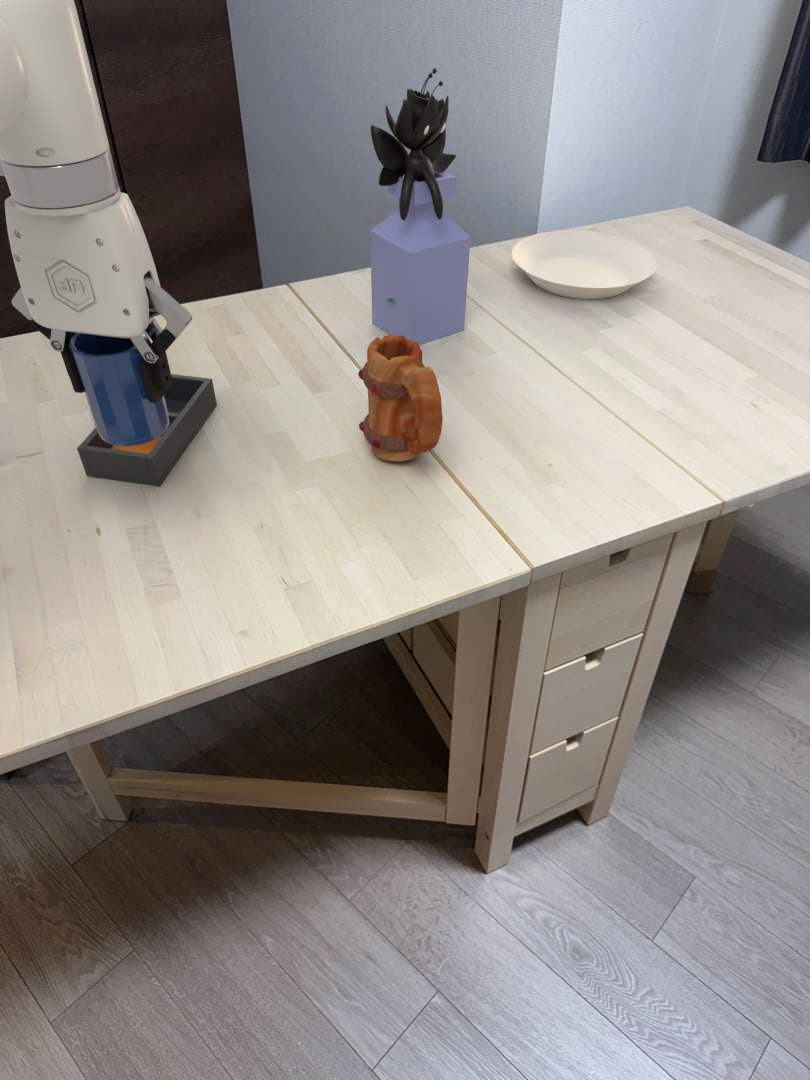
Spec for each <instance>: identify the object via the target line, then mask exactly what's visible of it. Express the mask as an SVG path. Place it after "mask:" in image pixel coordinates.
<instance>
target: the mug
mask: <svg viewBox="0 0 810 1080" xmlns="http://www.w3.org/2000/svg"><path fill="white" fill-rule="evenodd" d="M366 359H367V360H366V362H365V364H364V365H363V367H362V369H360V370H358V372H357V376H358V377H359V379H360V380H362V382H363V385H364V386H365V388H366V389H367V402H368V403H367V404H368V405H367V406H368V414H367V415H366V416H365V417H364V419H363V421H361V422H359V423H358V429H359V430H360V431H361V432H362V433H363V436H364V439H365V440H366V442H367V443H369V445H370V447H371V451H372V453H373V454H374V455H375V456H376V457H377V458H379V459H380V460H382V461H388V462H405V461H410V460H413V459H415V458H417V457H419V456H420V455H421V454H422V453H426V452H429V451H432V450H433V449H434V448H436V446H437V445H438V444H439V441H440V438H441V434H442V431H443V430H442V428H443V409H442V408H443V407H442V405H443V404H442V396H441V391H440V387H439V383H438V379H437V376H436V374H435V371H434V370H433V369H432V368H431V367H430V366H428V365H427V366H425V364H424V363H423V350H422V348H421V345H419V344H418V343H417V342H415V341H413V340H407V339H406V338H405V336H399V335H389V334H386V335H383V337H382V339H381V338H379V337H375V338H374V339H373V340H371V342H370V343H369V344H368V347H367V349H366Z"/></svg>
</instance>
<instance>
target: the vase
mask: <svg viewBox="0 0 810 1080" xmlns="http://www.w3.org/2000/svg"><path fill="white" fill-rule="evenodd" d="M437 72H438V70H437V68H432V72H429V73H428V74H427V77H426V79H425V80H424V83H423V85H422V87H421V91H418V90H417V89H413V88H406V99H403V100H402V105H401V108H400V110H399V113H398V116H397V119H396V121H395V120H394V117H393V116H392V114H391V112H390V108H389V107H388V105H385V109H384V112H385V118H386V121H387V124H388V127H389V130H390V131H391V133H392V134H391V133H390V132H388V131H386V130H385V129H383V128H381V127H378V126H375V125H374V124H371V125H370V136H371V141H372V145H373V149H374V151H375V154H376V157H377V160H378V161H379V162H380V164H381V165H382V166H383V167H382V168H381V170H380V173H379V176H378V177H379V178H378V185H379V186H380V187H387V193H388V194H391V195H393V196H395V197H397V198H398V209H397V210H396V211H394V212H393V213H392V214H390V215H389V216H388V217H386V218H385V219H383V220H382V221H381V222H380V223H379V224H378V223H377V225H376V226H374V227H373V228H372V229H370V230H369V231H370V233H369V234H370V237H369V239H370V282H371V286H370V287H371V289H370V290H371V323H372V324H373V325H375V326H376V327H378V328H379V329H381V330H382V331H383V332H384V333H386V334H387V335H399V336H405V338H406V339H407V340H413V341H415V342H417V343H418V344H419V345H420V346H421V345H424V344H426V343H430V342H432V341H435V340H438V339H442V338H444V337H448V336H450V335H454V334H457V333H459V332H463V331H464V330H465V320H466V310H467V309H466V306H467V293H468V282H469V281H468V280H469V279H468V278H469V267H470V266H469V265H470V252H471V251H470V250H471V239H472V238H471V236H470V235H469V234H467V232H465V231H464V230H463V229H462V227H460V226H459V225H458V224H457V223H456V222H454V221H453V220H452V219H451V217H449V216H448V215H447V214H446V213H444V200H445V199H450V198H453V197H456V190H457V189H456V186H457V176H456V175H453V174H452V173H449V172H447V171H446V170H447V169H448V168H449V167H450V165H451V164H452V163H453V162H454V161H455V159H456V157H457V155H456V154H454V153H444V150H445V147H446V138H447V131H446V130H447V128H446V125H447V121H448V117H449V112H450V111H449V110H450V109H449V108H450V99H449V95H447V96H446V97H445V99H444V98H441V99H437V98H435V96H434V95H433V94H434V92H435V90H436V89H437V88H438V87H443V86H444V82H443V81H442V80H439V82H438V84H437V85H436V86H435V87H434V89H433V90H432V92H431V94H430V92H429V90H427V91H426V87H427V84H428V83H429V80H430V79H432V78H433V76H434V75H435V74H436V73H437ZM433 74H434V75H433ZM425 91H426V92H425ZM407 149H408V150H409V151H410V152H409V151H408V150H407Z"/></svg>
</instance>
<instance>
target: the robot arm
mask: <svg viewBox="0 0 810 1080" xmlns="http://www.w3.org/2000/svg"><path fill="white" fill-rule="evenodd" d="M83 35H84V34H83V30H82V27H81V23H80V18H79V15H78V11H77V7H76V3H75V0H0V177H4V178H5V180H6V183H7V186H8V189H9V192H10V196H8V197H7V198H6V199H5V200H4V212H5V213H4V214H5V222H6V230H7V235H8V242H9V246H10V247H9V248H10V251H11V256H12V259H13V263H14V267H15V271H16V276H17V278H18V282H19V285H20V288H19V289H18V290H17V291H16V293H15V294H14V296H13V297H12V298H11V305H12V306H13V308H15V309H16V310H17V311H18V312H19V313H21V315H22V316H24V317H25V318H26V319H27V320H28V321H31V324H32V326H33V327H34V329H36V330H37V331H38V332H40V333H41V334H42V335H43V336H44V337H46V338H47V339H48V340H49V345H50V347H51V349H53V350H54V351H55V352H58V353H60V356H61V357H62V361H63V363H64V366H65V369H66V373H67V376H68V377H69V381H70V383H71V385H72V389H73V391H74V393H78V394H83V393H85V392H84V389H83V386H82V383H81V380H80V377H79V374H78V371H77V368H76V365H75V362H74V359H73V356H72V353H71V350H70V347H69V344H70V340H71V338H72V337H73V336H74V335H75V334H76V333H83V334H92V335H100V336H109V337H118V338H130V339H131V341H132V342H133V344H134V345H135V346H136V348H137V349H138V351H139V352H140V354H141V355H142V357H143V358H144V359H143V360H142V361H141V362H140V364H139V367H140V371H141V375H142V379H143V382H144V386H145V390H146V394H147V397H148V400H149V401H150V402H151V403H158V402H159V401H160V399H161V398H162V397H163V396H164V395H165V394H166V392H167V391H168V390H169V389H170V387H171V385H172V376H171V374H172V372H171V368H170V364H169V360H168V355H167V350H168V349H169V348H170V347H171V346H172V345H173V343H174V342H176V340H177V339H178V338H179V337H180V335H181V334H182V333H183V332H184V331H185V329H186V328H187V327H188V326H189V325H190V323H191V322H192V321H193V316H192V314H191V312H190V311H188V309H186V308H185V307H184V306H183V305H182V304H181V303H179V301H177V300H176V299H175V298H174V297H173V296H172V295H171V294H170V293H168V291H166V290H165V289H164V288H163V287H161V282H160V280H159V279H160V278H159V276H158V275H159V274H158V272H157V268H156V264H155V262H154V258H153V255H152V252H151V249H150V246H149V242H148V240H147V238H146V234H145V231H144V229H143V226H142V224H141V221H140V219H139V216H138V214H137V212H136V209H135V207H134V205H133V202H132V200H131V199H130V196H129V195H128V194H127V193H125V192H122V191H121V188H120V185H119V180H118V177H117V172H116V168H115V163H114V159H113V154H112V151H111V146H110V144H109V143H110V142H109V139H108V135H107V131H106V127H105V123H104V118H103V114H102V111H101V105H100V102H99V97H98V93H97V89H96V86H95V81H94V77H93V72H92V69H91V65H90V59H89V56H88V52H87V51H88V50H87V48H86V43H85V39H84V36H83ZM158 316H161V317H163V318H164V319H165V321H166V326H165V327H164V328H162V326H161V325H160V323H159V322H158V321H157V318H155V317H158ZM144 330H145V331H146V332H147V334H148V335H149V337H150V340H149V339H148V337H147V336H146V334H145V333H144ZM150 341H151V342H150Z"/></svg>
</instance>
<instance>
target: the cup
mask: <svg viewBox="0 0 810 1080" xmlns="http://www.w3.org/2000/svg"><path fill="white" fill-rule="evenodd" d="M144 333H145V334H146V336H147V337H148V339H149V340H150V342H151V343H152V340H151V338H150V337H149V335H148V334H147V332H146V331H145V330H144ZM69 347H70V350H71V353H72V356H73V359H74V362H75V365H76V368H77V371H78V374H79V377H80V380H81V383H82V386H83V389H84V392H83V393H84V395H85V398H86V402H87V404H88V407H89V410H90V413H91V416H92V419H93V422H94V425H95V428H97V430H98V433H99V435H100V437H101V438H102V439H103V440H104V441H105V442H107V443H109V444H112V445H116V446H136V445H141V444H144V443H147V442H150V441H152V440H155V439H156V438H158V437H160V436H161V435H162V434H163V433H164V432H165V431H166V430H167V428H168V426H169V414H168V410H167V406H166V402H165V398H164V396H163V397H162V398H161V399H160V401H159V402H158V403H151V402H150V401H149V400H148V397H147V394H146V390H145V386H144V382H143V379H142V375H141V371H140V367H139V364H140V362H141V361H142V360H143V359H144V358H143V357H142V355H141V354H140V352H139V351H138V349H137V348H136V346H135V345H134V344H133V342H132V341H131V339H130V338H118V337H109V336H100V335H92V334H83V333H76V334H75V335H74V336H73V337H72V338H71V340H70V344H69Z"/></svg>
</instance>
